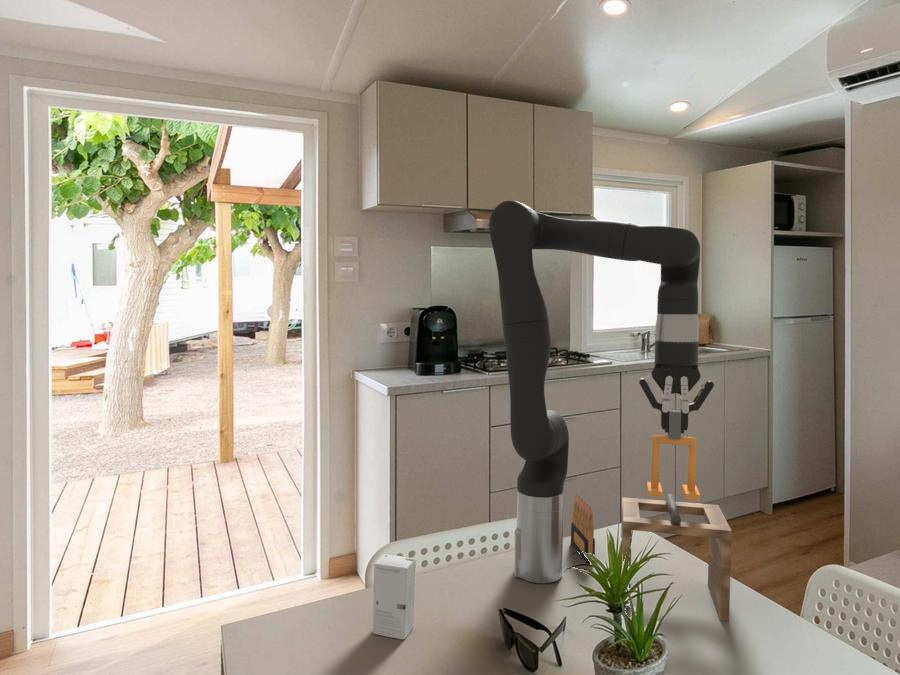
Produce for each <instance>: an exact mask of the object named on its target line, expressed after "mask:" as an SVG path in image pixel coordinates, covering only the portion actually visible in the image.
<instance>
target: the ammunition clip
mask: <svg viewBox="0 0 900 675" xmlns="http://www.w3.org/2000/svg"><path fill="white" fill-rule="evenodd" d="M573 500H574V501H573V508H572V522H571V527H570V545H571V546H572V548H575V549H576V550H577V551H578V552H580V555H579V556H580V558H581V559H582V560H583V561H584V562H585V563H586V564H590V563H589V561H588V559H587V558H586V557H585V556H584V554H583V553H581V552H582V551H584V552H586V553H592V554H594V555H595V556H596V539H595V537H594V532H595V531H594V530H595V527H594V516H593V509H592V506H591V505H590V506H589V503H587V502H586V501H585V500H584V499H583V498H581V497H580V495H578V493H576V494H575V495H574V499H573ZM575 549H574V550H575ZM576 550H575V551H576ZM577 551H576V552H577ZM578 552H577V553H578Z"/></svg>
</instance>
